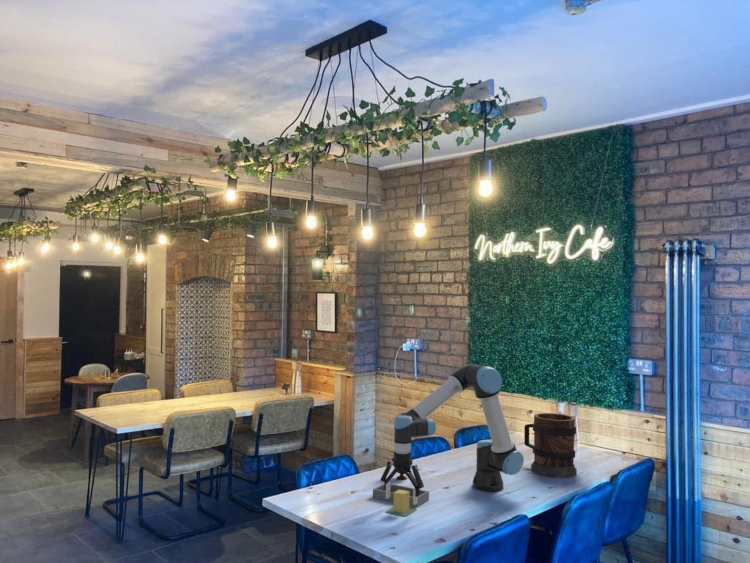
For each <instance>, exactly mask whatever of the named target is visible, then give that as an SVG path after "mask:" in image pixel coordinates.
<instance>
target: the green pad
mask: <svg viewBox="0 0 750 563" xmlns="http://www.w3.org/2000/svg"><path fill="white" fill-rule="evenodd" d="M417 510H418V508H414V507H413V508H412V507H409V510H408V511H407V512H405V513H401V512H396V511H394V506H392V507H391V508H389V509H386V511H385V513H386V514H390V515H392V516H393V515H394V516H396V517H397V516H399V517H403V518H406V517H408V516H410V515H412V514H413V513H415V512H417Z"/></svg>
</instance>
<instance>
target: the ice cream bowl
mask: <svg viewBox="0 0 750 563" xmlns="http://www.w3.org/2000/svg"><path fill="white" fill-rule="evenodd" d="M391 460H392V461H393V462H394V456H393V457H392V459H391ZM413 463H414V462H413V459H412V458H411V465H413ZM407 479H408V477H407V476H406V475H405V474H401V473H399V475H398V476H397V477H396V480H398V481H407Z"/></svg>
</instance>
